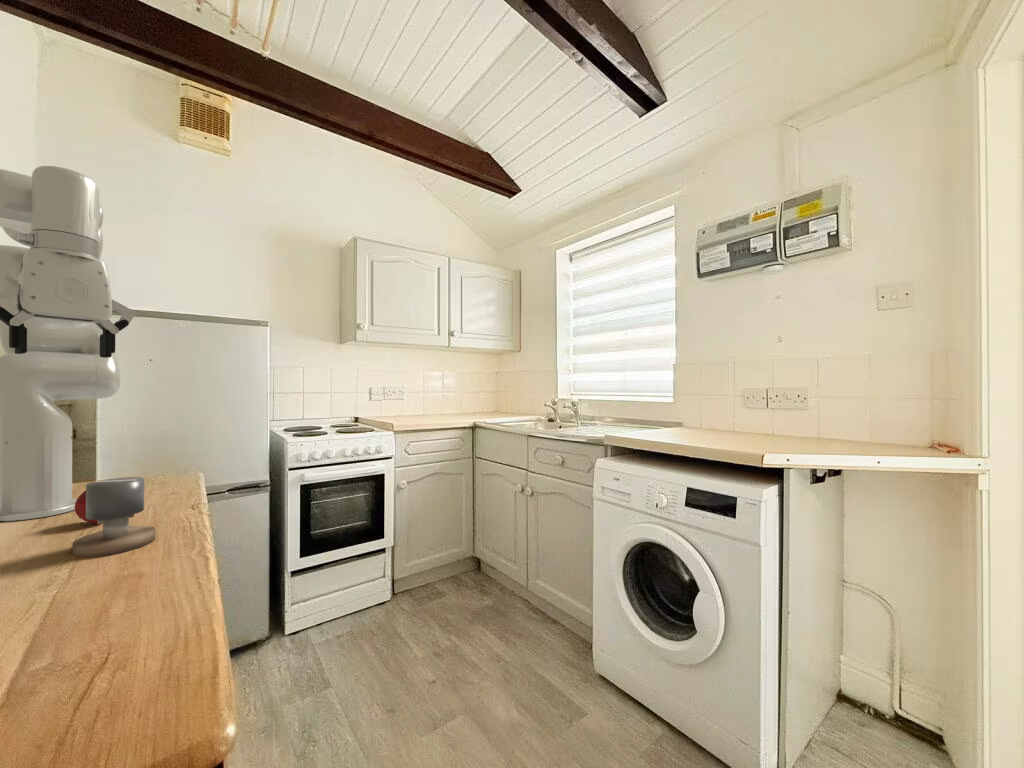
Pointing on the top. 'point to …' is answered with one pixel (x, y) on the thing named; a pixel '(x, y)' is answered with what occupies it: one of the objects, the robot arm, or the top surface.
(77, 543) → the post base
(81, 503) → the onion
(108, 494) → the grey striped cylinder
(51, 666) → the top surface
